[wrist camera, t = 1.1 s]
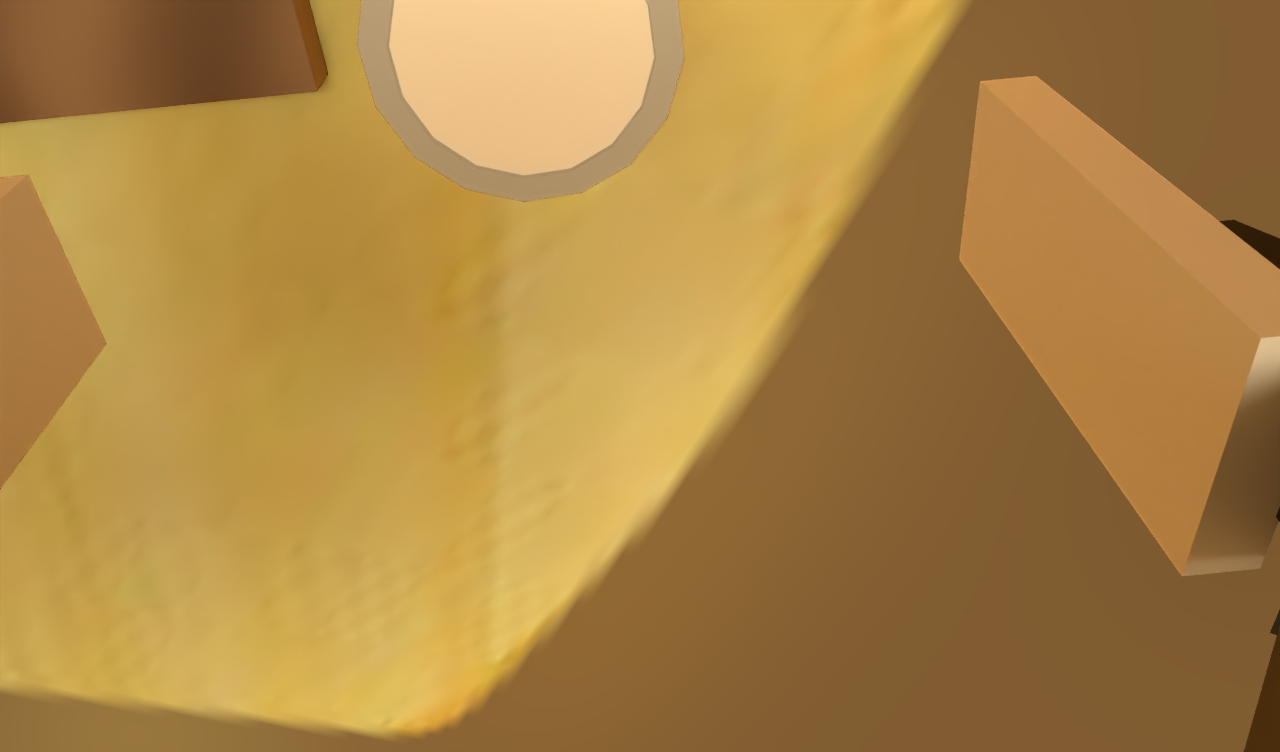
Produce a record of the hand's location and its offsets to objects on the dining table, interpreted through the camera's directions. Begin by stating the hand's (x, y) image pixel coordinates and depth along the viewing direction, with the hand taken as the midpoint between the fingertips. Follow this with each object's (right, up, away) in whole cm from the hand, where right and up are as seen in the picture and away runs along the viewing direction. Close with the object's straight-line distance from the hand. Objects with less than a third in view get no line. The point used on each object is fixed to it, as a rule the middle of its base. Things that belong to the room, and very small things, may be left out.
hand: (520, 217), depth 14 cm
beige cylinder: (-1, +9, +13) cm, 15 cm away
